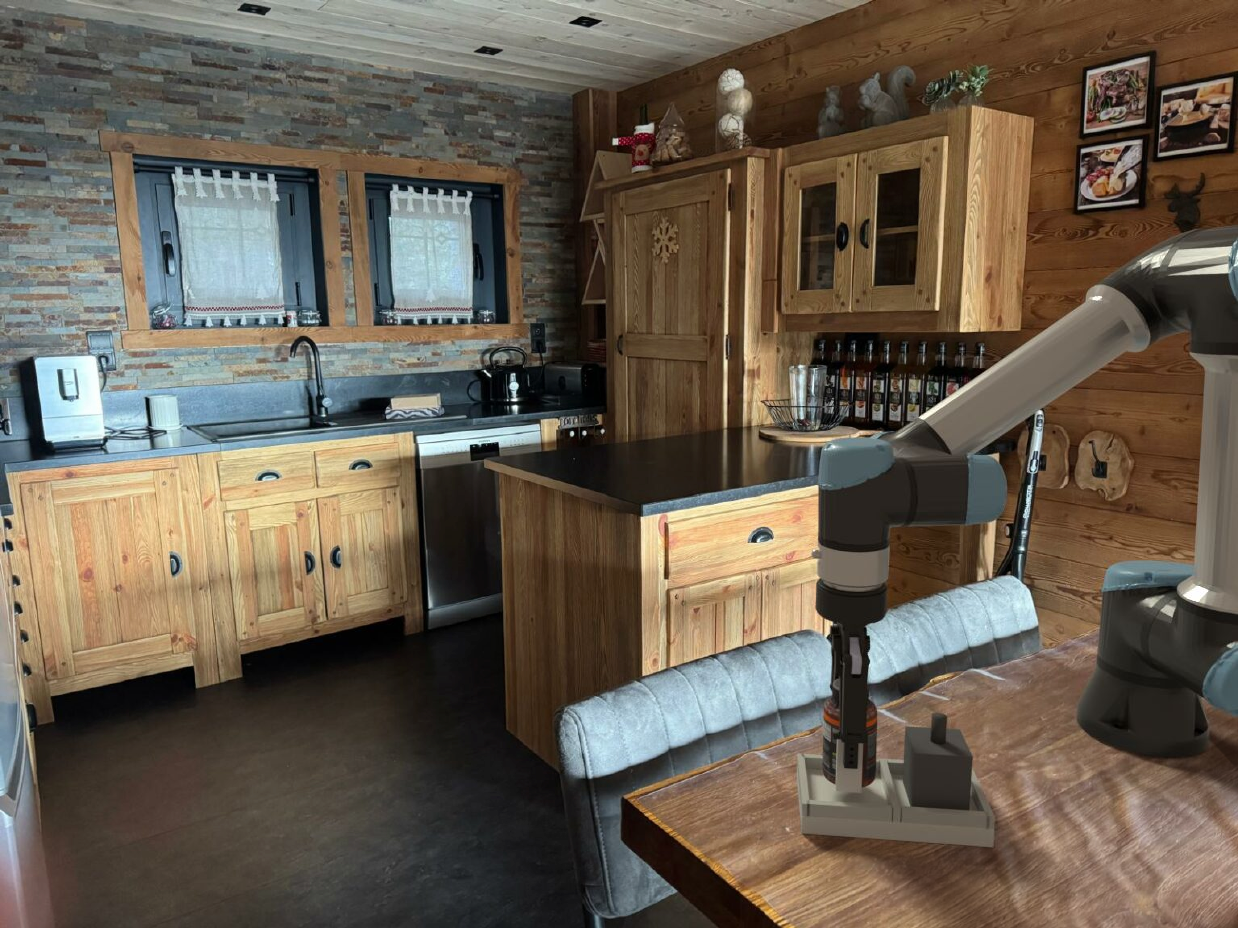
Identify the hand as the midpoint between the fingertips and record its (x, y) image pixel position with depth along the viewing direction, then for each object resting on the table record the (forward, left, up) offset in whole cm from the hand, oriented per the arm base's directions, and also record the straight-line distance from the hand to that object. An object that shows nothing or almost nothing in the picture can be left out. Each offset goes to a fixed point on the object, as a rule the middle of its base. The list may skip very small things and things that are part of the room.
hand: (845, 773), depth 99 cm
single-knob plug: (-10, 0, -2) cm, 10 cm away
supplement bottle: (0, 0, -1) cm, 1 cm away
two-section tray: (-5, 0, -4) cm, 7 cm away
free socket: (0, 0, -2) cm, 2 cm away
